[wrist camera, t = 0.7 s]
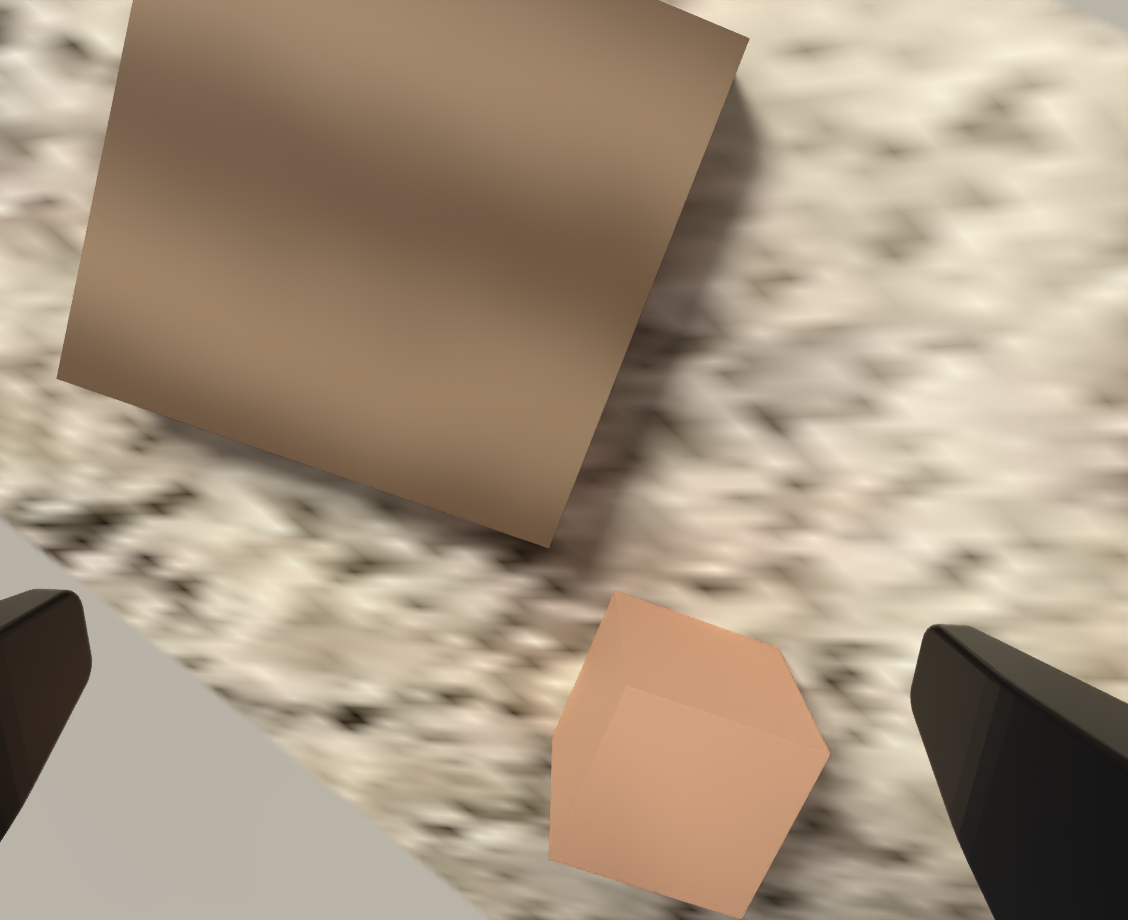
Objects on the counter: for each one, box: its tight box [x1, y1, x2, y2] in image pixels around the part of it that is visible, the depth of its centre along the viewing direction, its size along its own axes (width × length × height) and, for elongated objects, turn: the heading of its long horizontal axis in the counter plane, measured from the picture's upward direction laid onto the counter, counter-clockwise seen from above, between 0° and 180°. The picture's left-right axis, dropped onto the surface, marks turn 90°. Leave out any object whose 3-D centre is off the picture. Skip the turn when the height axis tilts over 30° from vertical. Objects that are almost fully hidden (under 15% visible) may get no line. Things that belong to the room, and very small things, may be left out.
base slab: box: [57, 0, 750, 548], centre depth 20 cm, size 12×12×3 cm
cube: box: [549, 591, 830, 919], centre depth 22 cm, size 5×5×5 cm
